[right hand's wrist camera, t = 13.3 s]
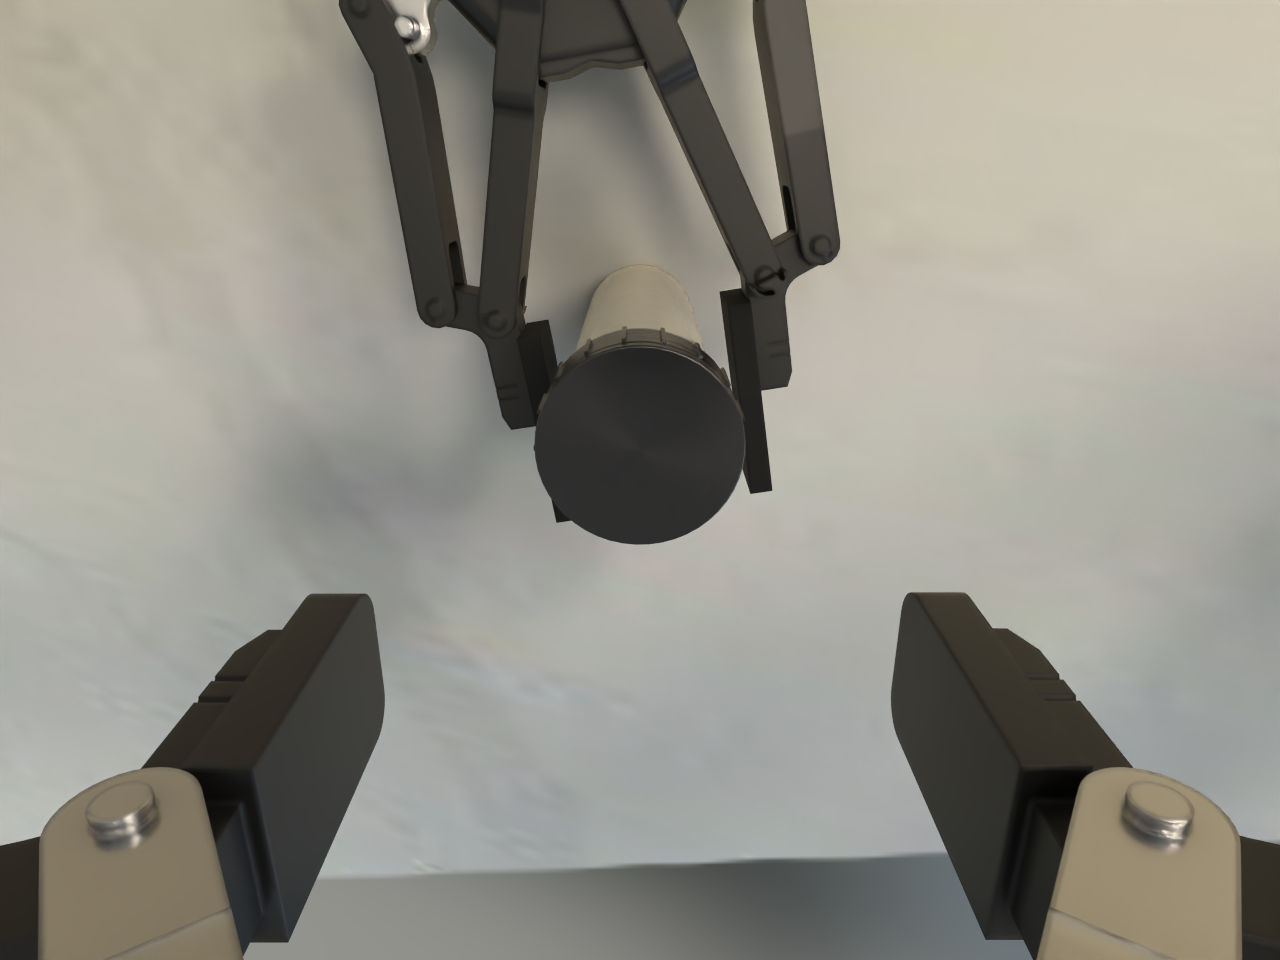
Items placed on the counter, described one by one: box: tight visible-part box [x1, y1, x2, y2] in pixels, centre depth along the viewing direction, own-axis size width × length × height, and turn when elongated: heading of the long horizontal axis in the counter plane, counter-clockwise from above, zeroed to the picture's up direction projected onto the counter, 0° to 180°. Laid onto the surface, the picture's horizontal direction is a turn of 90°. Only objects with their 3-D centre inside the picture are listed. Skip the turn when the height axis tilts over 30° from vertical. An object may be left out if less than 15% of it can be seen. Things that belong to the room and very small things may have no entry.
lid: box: [534, 326, 745, 544], centre depth 21 cm, size 5×5×2 cm
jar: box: [574, 265, 706, 353], centre depth 27 cm, size 4×4×16 cm
